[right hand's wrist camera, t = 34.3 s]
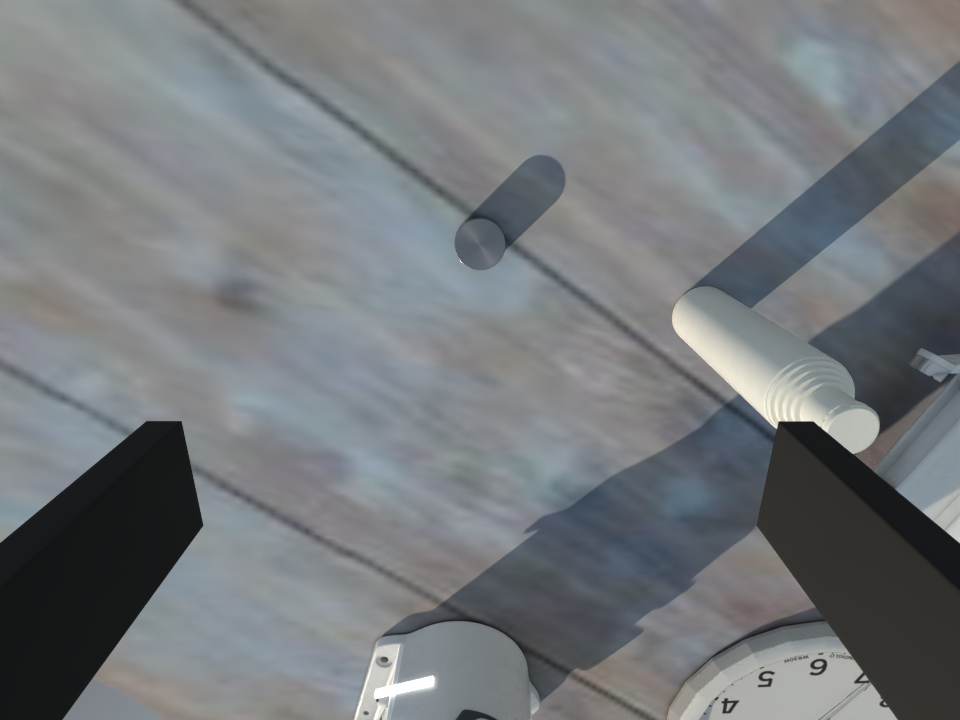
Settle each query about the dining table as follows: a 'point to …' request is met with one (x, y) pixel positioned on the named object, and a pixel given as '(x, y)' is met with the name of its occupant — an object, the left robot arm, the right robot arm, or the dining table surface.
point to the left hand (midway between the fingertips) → (874, 412)
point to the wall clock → (782, 681)
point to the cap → (479, 243)
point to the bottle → (774, 367)
